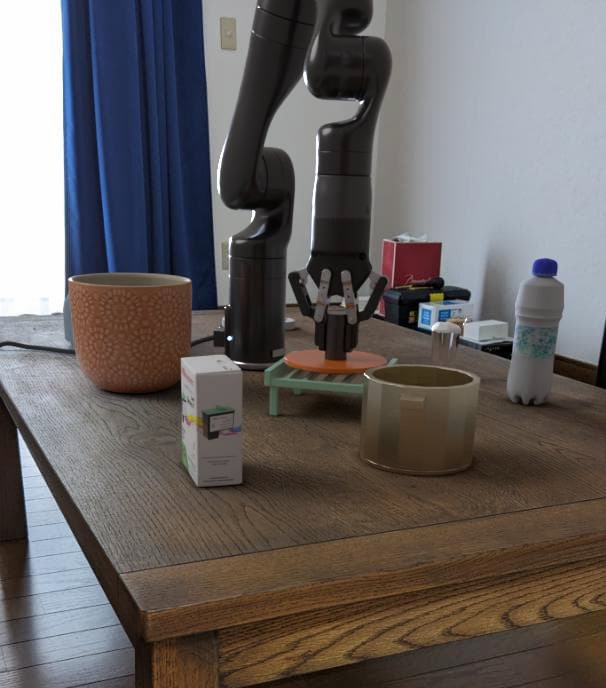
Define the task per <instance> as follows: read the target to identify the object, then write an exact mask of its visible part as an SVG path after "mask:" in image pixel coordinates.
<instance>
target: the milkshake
mask: <svg viewBox="0 0 606 688" xmlns="http://www.w3.org/2000/svg"><path fill="white" fill-rule="evenodd" d="M468 318H469V317H466V319H465V320H464V323H463V325H462V326H461V327H460V326H459V325H458V324H456V323H454V322H450V321H436V322H435V323H434V324H433V325H432V326H431V329H430V331H431V332H430V334H431V335H430V336H431V359H430V361H431V362H430V365H432V366H442V367H448V368H454V369H455V366H456V359H457V353H458V348H459V342H460V337H461V332H462V329H463V327H464V326H465V323H466V322H467V320H468Z"/></svg>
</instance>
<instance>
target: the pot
mask: <svg viewBox="0 0 606 688" xmlns="http://www.w3.org/2000/svg"><path fill="white" fill-rule="evenodd" d="M363 380H364V382H363V394H362V399H361V402H362V403H361V417H360V436H359V453H360V456H359V457H360V459H361V460H362V461H363V462H364V463H365V464H367V465H369V466H371V467H373V468H375V469H378V470H382V471H385V472H390V473H394V474H399V475H400V474H401V475H408V476H422V477H423V476H425V477H426V476H427V477H432V476H445V475H452V474H457V473H461V472H464V471H465V470H467V469H469V468H470V467H471V465H472V461H473V454H474V445H475V438H476V437H475V436H476V428H477V419H478V408H479V399H480V390H481V382H482V381H481V380H482V378H481V377H480V376H478V375H476V374H475V373H473V372H470V371H466V370H463V369H459V368H455V367H454V368H448V367H442V366H432V365H431V364H429V365H428V364H415V363H414V364H412V363H411V364H409V363H407V364H405V363H403V364H401V363H400V364H399V363H398V365H397V364H396V365H388V364H387V365H386V366H378V367H375V368H371V369H368V370H367V371H366V372H365V373H363Z"/></svg>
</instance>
